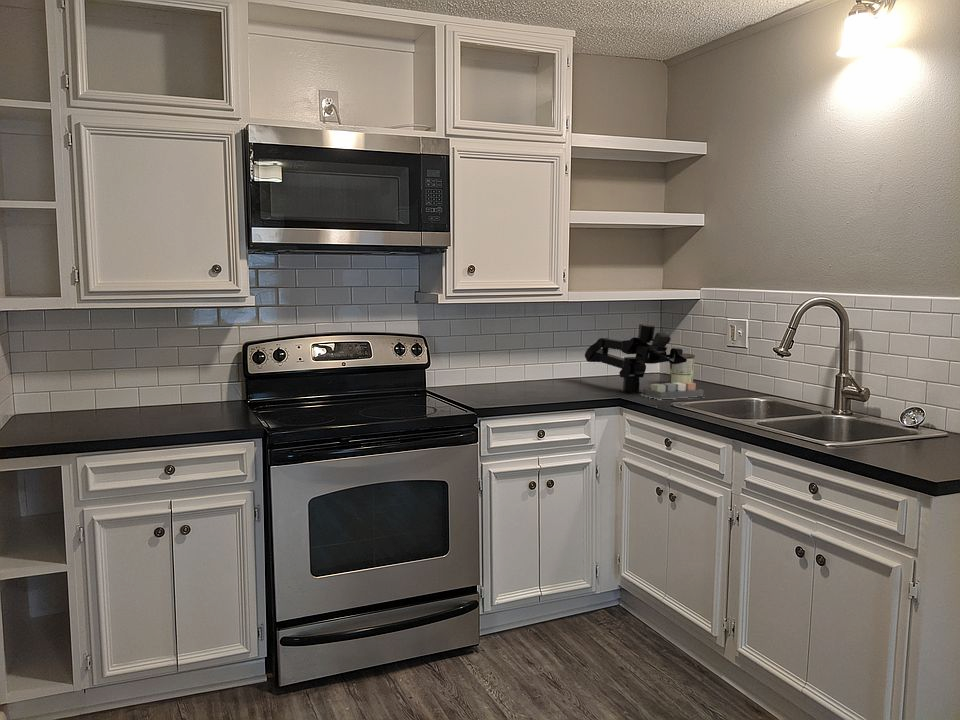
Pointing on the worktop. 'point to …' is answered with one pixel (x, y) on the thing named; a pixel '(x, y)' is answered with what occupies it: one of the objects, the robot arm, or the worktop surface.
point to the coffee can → (682, 370)
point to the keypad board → (671, 394)
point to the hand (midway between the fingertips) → (677, 360)
